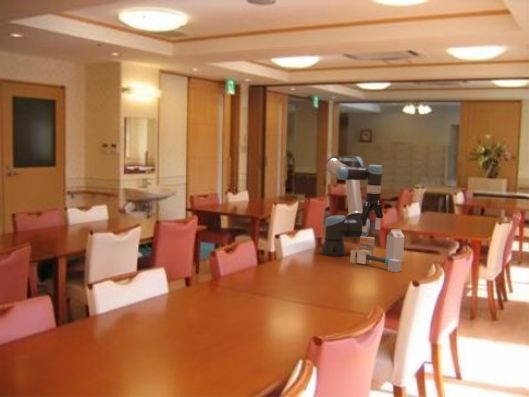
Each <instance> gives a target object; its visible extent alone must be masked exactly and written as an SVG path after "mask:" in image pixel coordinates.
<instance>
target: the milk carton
mask: <svg viewBox="0 0 529 397" xmlns="http://www.w3.org/2000/svg"><path fill="white" fill-rule="evenodd" d="M385 246H386V248H385V259H386V258H387V257H389V258H391V259H398V260H401V263H403V262H404V250H405V249H404V248H405V235H404V233H403V232H402V229H401V228H396V229H394V228H393V229H391V230H390V232H388V234H387V235H386V245H385Z"/></svg>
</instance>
